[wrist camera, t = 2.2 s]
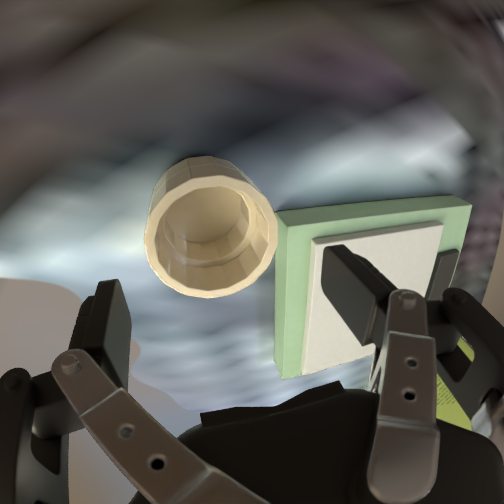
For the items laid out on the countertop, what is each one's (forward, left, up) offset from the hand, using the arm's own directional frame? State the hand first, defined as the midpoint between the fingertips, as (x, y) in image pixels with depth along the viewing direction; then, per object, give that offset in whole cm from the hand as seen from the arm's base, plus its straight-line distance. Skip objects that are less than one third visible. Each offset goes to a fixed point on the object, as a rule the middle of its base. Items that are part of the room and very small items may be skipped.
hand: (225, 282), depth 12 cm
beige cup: (0, 0, -8) cm, 8 cm away
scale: (+8, +13, -8) cm, 17 cm away
